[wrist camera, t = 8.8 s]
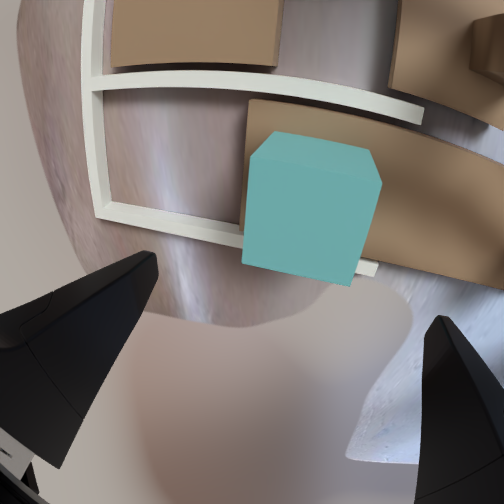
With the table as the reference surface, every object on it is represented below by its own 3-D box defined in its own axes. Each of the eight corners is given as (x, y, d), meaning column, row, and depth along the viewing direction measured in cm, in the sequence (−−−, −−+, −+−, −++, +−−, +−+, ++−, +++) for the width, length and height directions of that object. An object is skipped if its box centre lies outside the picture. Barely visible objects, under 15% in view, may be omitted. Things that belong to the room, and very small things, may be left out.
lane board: (372, 266, 20) (373, 279, 19) (104, 210, 23) (93, 219, 22) (433, -44, 8) (440, -52, 6) (101, -44, 11) (88, -47, 10)
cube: (348, 231, 17) (349, 286, 13) (265, 214, 18) (241, 263, 14) (369, 149, 14) (382, 183, 10) (274, 131, 15) (250, 156, 11)
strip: (519, 285, 17) (547, 344, 12) (244, 221, 20) (210, 280, 15) (561, 195, 12) (609, 242, 7) (254, 98, 15) (214, 114, 10)
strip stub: (494, 126, 12) (552, 159, 7) (387, 87, 13) (417, 96, 8) (508, 9, 8) (568, 0, 3) (400, -38, 9) (428, -82, 4)
